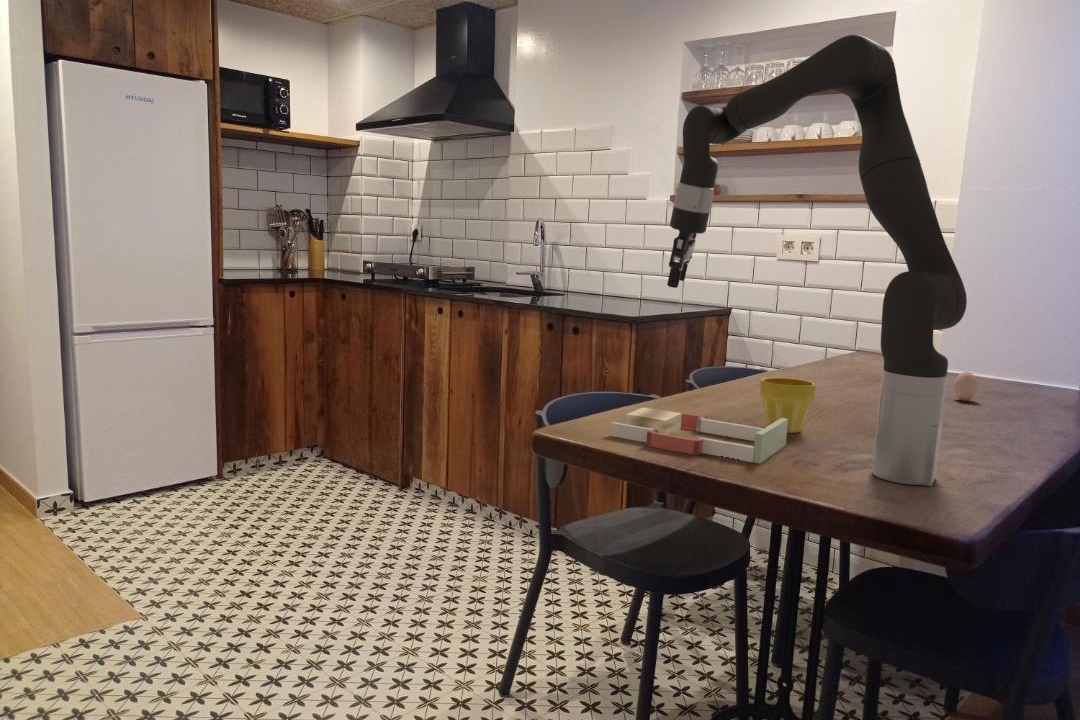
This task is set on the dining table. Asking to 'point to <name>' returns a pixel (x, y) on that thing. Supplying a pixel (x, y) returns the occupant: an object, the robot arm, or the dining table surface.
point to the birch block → (656, 420)
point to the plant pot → (787, 400)
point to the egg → (965, 386)
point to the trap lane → (764, 438)
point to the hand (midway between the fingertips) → (675, 283)
